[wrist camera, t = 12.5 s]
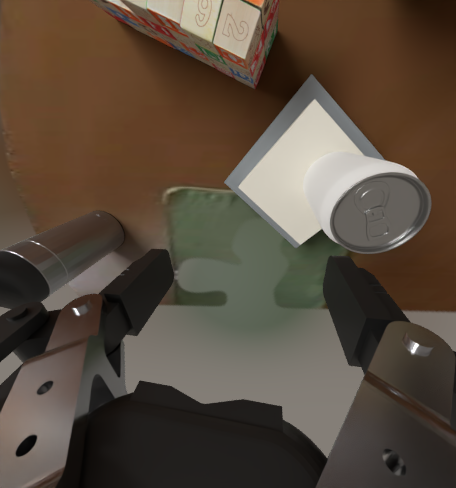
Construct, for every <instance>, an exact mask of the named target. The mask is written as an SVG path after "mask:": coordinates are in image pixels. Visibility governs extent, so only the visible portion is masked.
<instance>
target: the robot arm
mask: <svg viewBox="0 0 456 488" xmlns="http://www.w3.org/2000/svg"><path fill="white" fill-rule="evenodd" d="M123 242H124V231H123V229H122V227H121V225H120V224H119V222H118V221H117V220H116V219H115V218H114V217H113V216H111V215H110V214H108V213H106V212H103V211H93V212H91V213H89V214H86V215H84V216H81V217H79V218H76V219H74V220H71V221H69V222H67V223H64V224H62V225H59V226H57V227H55V228H52V229H50V230H47V231H45V232H43V233H40V234H38V235H35V236H33V237H31V238H28V239H26V240H23V241H21V242H19V243H17V244H14V245H12V246H9V247H7V248H4V249H2V250H0V307H4V308H9V309H11V310H10V311H8V312H6V313H5V314H3V315H1V316H0V362H1V361H2V360H3V359H4V358H5V357H7V356H8V355H9V354H10V353H11V352H12V351H13V352H14V353H15V354H16V355H17V356H18V357H19V359H20V360H21V361H22V362H23V364H22V365H21V366H20V367H19V368H18V369H17V370H16V371H14V372H13V373H12V374H11V375H10V376H9V377H8V378H7V379H6V380H5V381H4V382H3V383H2V384H1V385H0V488H456V352H455V351H453V350H452V349H451V347H450V346H449V345H448V344H447V343H446V342H445V341H444V340H443V339H442V338H440V337H439V336H438V335H436V334H435V333H433V332H432V331H430V330H428V329H426V328H424V327H422V326H419V325H417V324H413V323H411V322H410V321H409V320H408V318H407V317H406V316H405V314H403V312H402V311H401V309H400V308H399V307H398V306H397V304H396V303H395V302H394V301H393V299H392V298H391V297H390V295H389V294H387V292H386V290H385V289H384V288H383V287H382V286H381V284H380V283H379V281H378V280H377V279H376V278H375V276H374V275H372V274H371V273H369V272H368V271H366V270H365V269H363V268H357V266H356V265H355V263H354V262H353V261H352V259H351V258H350V257H349V256H330V257H329V258H328V262H327V267H326V272H325V277H324V282H323V294H324V298H325V300H326V303H327V306H328V309H329V311H330V314H331V317H332V319H333V323H334V325H335V328H336V331H337V334H338V336H339V339H340V342H341V345H342V347H343V350H344V353H345V356H346V359H347V361H348V364H349V365H350V366H357V367H362V370H363V372H364V375H365V376H364V378H363V380H362V382H361V385H360V387H359V389H358V391H357V393H356V396H355V398H354V400H353V403H352V405H351V407H350V409H349V412H348V414H347V416H346V418H345V421H344V423H343V425H342V427H341V429H340V432H339V434H338V436H337V438H336V440H335V443H334V445H333V447H332V450H331V452H330V454H329V456H328V458H326V456H325V455H324V454H323V453H322V451H321V450H320V449H319V448H318V447H317V446H316V445H315V444H314V443H313V442H312V441H311V440H310V439H309V438H308V437H307V436H306V435H305V434H303V433H302V432H301V431H300V430H299V429H297V428H296V427H294V426H293V425H291V424H290V423H288V422H286V421H284V420H283V418H282V406H277V405H271V404H266V403H260V402H255V401H249V400H244V399H242V400H234V401H226V402H218V403H210V404H202V403H199V402H198V401H196V400H194V399H192V398H191V397H189V396H187V395H185V394H184V393H182V392H180V391H179V390H177V389H175V388H173V387H172V386H167V385H162V384H156V383H151V382H145V381H139V384H138V385H137V387H136V389H135V391H134V393H130V394H127V391H126V386H125V356H124V355H125V352H124V342H123V338H124V337H125V335H133V336H137V335H138V334H139V332H140V331H141V329H142V328H143V326H144V325H145V324H146V322H147V321H148V319H149V318H150V316H151V315H152V313H153V312H154V310H155V309H156V307H157V306H158V304H159V303H160V301H161V300H162V298H163V297H164V295H165V294H166V292H167V291H168V289H169V288H170V287H171V285H172V283H173V279H174V273H173V269H172V264H171V260H170V256H169V252H168V251H167V250H166V249H151V250H150V251H149V252H148V253H147V254H146V255H145V256H143V257H142V258H141V259H139V260H137V261H135V262H133V263H132V264H131V265H130V266H129V267H128V268H127V269H126V270H124V271H123V272H122V273H121V275H119V276H118V277H117V278H115V279H114V280H113V281H112V282H111V283H110V284H109V285H108V286H106V287H105V288H104V289H103V290H102V291H101V292H100V293H99V294H95V293H93V294H87V295H83V296H81V297H78V298H76V299H74V300H72V301H71V302H69V303H68V304H67V305H66V306H65V307H64V308H62V309H60V310H54V311H47V310H46V309H45V307H44V305H43V304H42V303H41V301H43V300H44V299H46V298H47V297H48V296H50V295H51V294H53V293H54V292H55V291H57V290H58V289H60V288H61V287H62V286H64V285H65V284H67V283H68V282H69V281H71V280H72V279H74V278H75V277H76V276H78V275H79V274H81V273H82V272H84V271H85V270H86V269H88V268H89V267H91V266H92V265H93V264H95V263H96V262H98V261H99V260H101V259H102V258H103V257H105V256H106V255H108V254H109V253H111V252H112V251H113V250H115V249H116V248H118V247H119V246H120V245H122V243H123Z"/></svg>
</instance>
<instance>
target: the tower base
mask: <svg viewBox="0 0 456 488" xmlns="http://www.w3.org/2000/svg"><path fill="white" fill-rule="evenodd" d="M331 152H348V153H353V154H357V155H362V156H367V157H371V158H376V159H380V160H385V159H384V158H383V157H382V156H381V155H380V154H379V152H378V151H377V150H376V149H375V148H374V146H373V145H372V144H371V143H370V142H369V141H368V139H367V138H366V137H365V136H364V135H363V134H362V132H361V131H360V130H359V129H358V128H357V127H356V125H355V124H354V123H353V122H352V121H351V120H350V118H349V117H348V116H347V115H346V114H345V113H344V111H343V110H342V109H341V108H340V107H339V106H338V104H337V103H336V102H335V101H334V100H333V98H332V97H331V96H330V95H329V94H328V93H327V91H326V90H325V89H324V88H323V87H322V86H321V84H320V83H319V82H318V81H317V80H316V79H315V77H314V76H313V75H312V74H311V75H310V76H309V78H308V79H307V80H306V81H305V83H304V84H303V85H302V86H301V88H300V89H299V90H298V91H297V93H296V94H295V95H294V96H293V98H292V99H291V100H290V101H289V102H288V104H287V105H286V106H285V107H284V109H283V110H282V111H281V112H280V114H279V115H278V116H277V117H276V119H275V120H274V121H273V122H272V123H271V125H270V126H269V127H268V128H267V130H266V131H265V132H264V133H263V135H262V136H261V137H260V138H259V140H258V141H257V142H256V143H255V145H254V146H253V147H252V148H251V149H250V151H249V152H248V153H247V154H246V156H245V157H244V158H243V159H242V161H241V162H240V163H239V164H238V166H237V167H236V168H235V169H234V170H233V172H232V173H231V174H230V175H229V177H228V178H227V179H226V180H225V182H224V183H225V184H226V185H228V186H229V187H230V188H231V189H232V190H233V191H234V192H235V193H236V194H237V195H238V196H240V197H241V198H242V199H243V200H244V201H245V202H246V203H247V204H248V205H249V206H250V207H252V208H253V209H254V210H255V211H256V212H257V213H258V214H259V215H260V216H261V217H262V218H264V219H265V220H266V221H267V222H268V223H269V224H270V225H271V226H272V227H273V228H275V229H276V230H277V231H278V232H279V233H280V234H281V235H282V236H283V237H284V238H285V239H286V240H288V241H289V242H290V243H291V244H292V245H293V246H294V247H295V248H297V247H298V246H300V245H301V244H302V243H304V242H305V241H306V240H308V239H309V238H310V237H312V236H313V235H314V234H316V233H317V232H318V231H320V230H321V229H322V228H321V226H320V224H319V222H318V220H317V218H316V216H315V215H314V213H313V211H312V209H311V207H310V205H309V203H308V201H307V199H306V197H305V194H304V191H303V180H304V177H305V174H306V172H307V170H308V169H309V167H310V166H311V165H312V164H313V163H314V162H315V161H316V160H317V159H319V158H320V157H322V156H324V155H326V154H328V153H331Z"/></svg>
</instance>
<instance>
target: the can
mask: <svg viewBox="0 0 456 488" xmlns="http://www.w3.org/2000/svg"><path fill="white" fill-rule="evenodd" d="M303 191H304V194H305V197H306V199H307V201H308V203H309V205H310V207H311V209H312V211H313V213H314V215H315V216H316V218H317V220H318V222H319V224H320V226H321V228H322V229H323V231H324V232H325V234H326V235H327V236H328V237H329V238H330V239H331V240H333V241H334V242H336V243H338V244H340V245H341V246H343V247H344V248H346V249H348V250H350V251H353V252H357V253H364V254H373V253H380V252H385V251H388V250H391V249H394V248H396V247H398V246H400V245H402V244H404V243H405V242H407V241H408V240H410V239H411V238H412V237H414V236H415V235H416V234H417V233H418V232H419V231H420V229H421V228H422V227H423V226H424V224H425V223H426V221H427V219H428V217H429V214H430V210H431V196H430V193H429V191H428V189H427V187H426V186H425V185H424V184H423V183H422V182H421V181H420V180H419V179H418V178H417V176H416V175H415V174H414V173H413V172H412V171H411V170H409V169H408V168H406V167H404V166H402V165H399V164H396V163H393V162H389V161H385V160H380V159H376V158H371V157H367V156H362V155H357V154H353V153H348V152H331V153H328V154H326V155H324V156H322V157H320V158H319V159H317V160H316V161H315V162H314V163H313V164H312V165H311V166H310V167H309V169H308V170H307V172H306V174H305V177H304V180H303Z"/></svg>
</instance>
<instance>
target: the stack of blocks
mask: <svg viewBox="0 0 456 488" xmlns="http://www.w3.org/2000/svg"><path fill="white" fill-rule="evenodd" d="M89 1H91V2H92V3H94V4H95V5H96V6H98V7H100V8H101V9H103V10H104V11H105V12H106V13H108V14H109V15H111V16H112V17H114V18H115V19H117V20H119V21H121V22H123V23H125V24H127V25H129V26H132V27H133V28H135V29H136V30H138V31H140V32H142V33H144V34H146V35H148V36H150V37H152V38H154V39H156V40H158V41H160V42H162V43H164V44H166V45H168V46H170V47H172V48H174V49H177V50H179V51H181V52H183V53H185V54H187V55H189V56H191V57H193V58H196V59H198V60H200V61H202V62H204V63H206V64H208V65H210V66H212V67H214V68H216V69H217V70H218V71H220V72H222V73H224V74H226V75H228V76H230V77H232V78H234V79H236V80H238V81H240V82H241V83H243V84H245V85H247V86H249V87H251V88H253V89H256V87H257V84H258V81H259V79H260V76H261V73H262V71H263V68H264V65H265V63H266V59H267V56H268V54H269V51H270V49H271V46H272V43H273V41H274V38H275V36H276V33H277V29H278V9H279V0H89Z"/></svg>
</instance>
